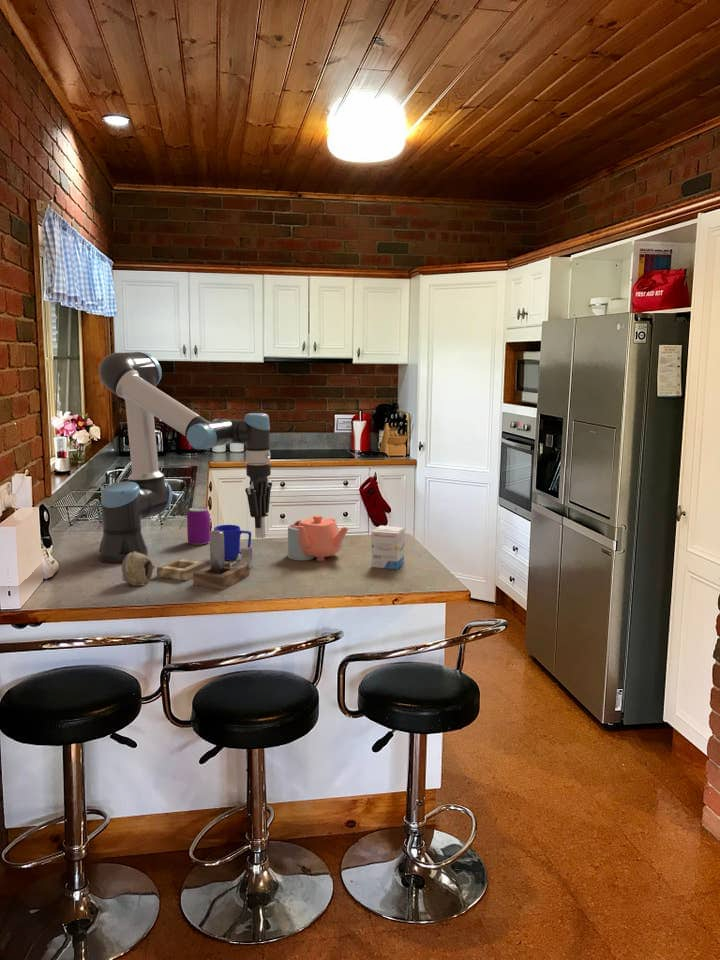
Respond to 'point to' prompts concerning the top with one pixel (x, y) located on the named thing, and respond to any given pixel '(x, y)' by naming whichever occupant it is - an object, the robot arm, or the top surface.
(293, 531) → the mug
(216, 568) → the peg
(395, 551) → the ink box
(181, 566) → the frame
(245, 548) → the drift key
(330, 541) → the teapot
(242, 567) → the socket block
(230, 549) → the mug
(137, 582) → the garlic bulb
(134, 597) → the top surface
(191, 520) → the beverage can
